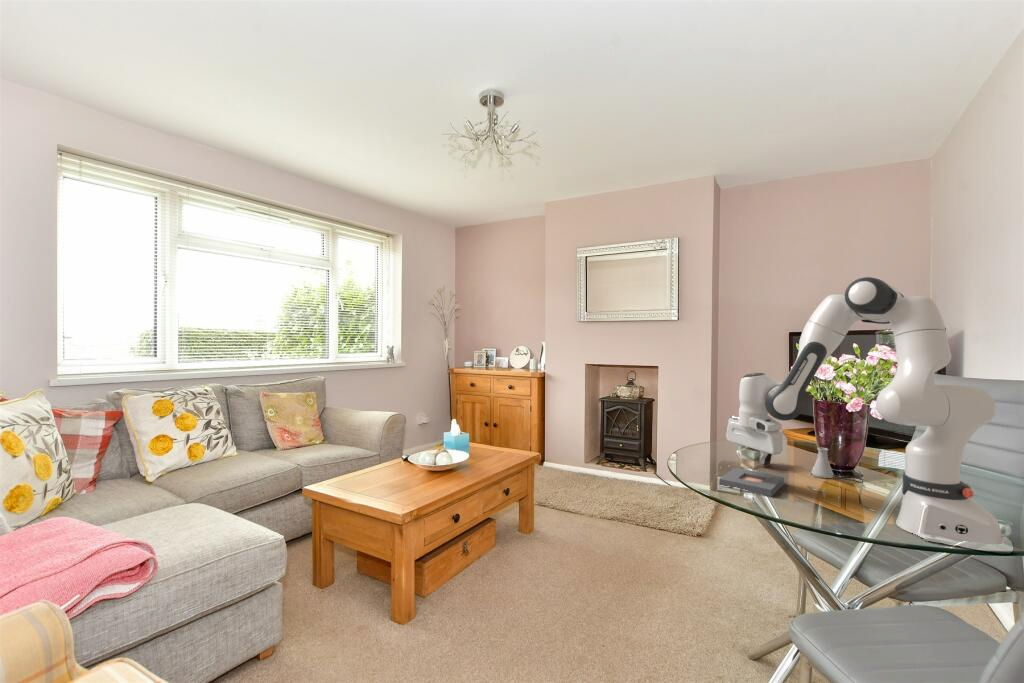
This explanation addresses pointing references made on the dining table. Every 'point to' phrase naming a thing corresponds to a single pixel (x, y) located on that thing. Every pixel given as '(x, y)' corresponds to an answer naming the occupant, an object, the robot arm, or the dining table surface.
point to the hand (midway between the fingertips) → (752, 460)
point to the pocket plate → (753, 481)
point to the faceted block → (750, 458)
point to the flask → (822, 465)
